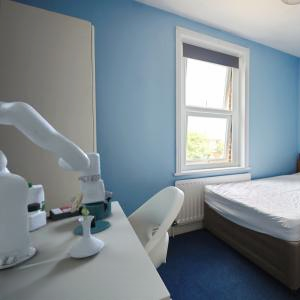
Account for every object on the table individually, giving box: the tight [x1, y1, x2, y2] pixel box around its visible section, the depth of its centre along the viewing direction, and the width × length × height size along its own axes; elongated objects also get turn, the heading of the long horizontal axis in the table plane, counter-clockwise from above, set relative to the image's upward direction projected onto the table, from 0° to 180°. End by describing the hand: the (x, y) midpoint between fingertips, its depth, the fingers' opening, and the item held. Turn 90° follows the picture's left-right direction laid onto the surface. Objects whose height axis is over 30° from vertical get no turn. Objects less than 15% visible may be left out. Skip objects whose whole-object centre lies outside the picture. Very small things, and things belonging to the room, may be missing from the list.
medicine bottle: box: [27, 203, 47, 232], centre depth 102 cm, size 7×7×12 cm
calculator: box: [48, 205, 81, 222], centre depth 118 cm, size 11×4×15 cm
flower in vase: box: [68, 191, 105, 259], centre depth 79 cm, size 13×11×25 cm
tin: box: [81, 199, 112, 221], centre depth 115 cm, size 14×14×8 cm
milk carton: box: [27, 182, 46, 212], centre depth 111 cm, size 9×9×20 cm
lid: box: [74, 215, 111, 236], centre depth 101 cm, size 15×15×6 cm
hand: (93, 212), depth 101 cm, fingers open, 9 cm apart
